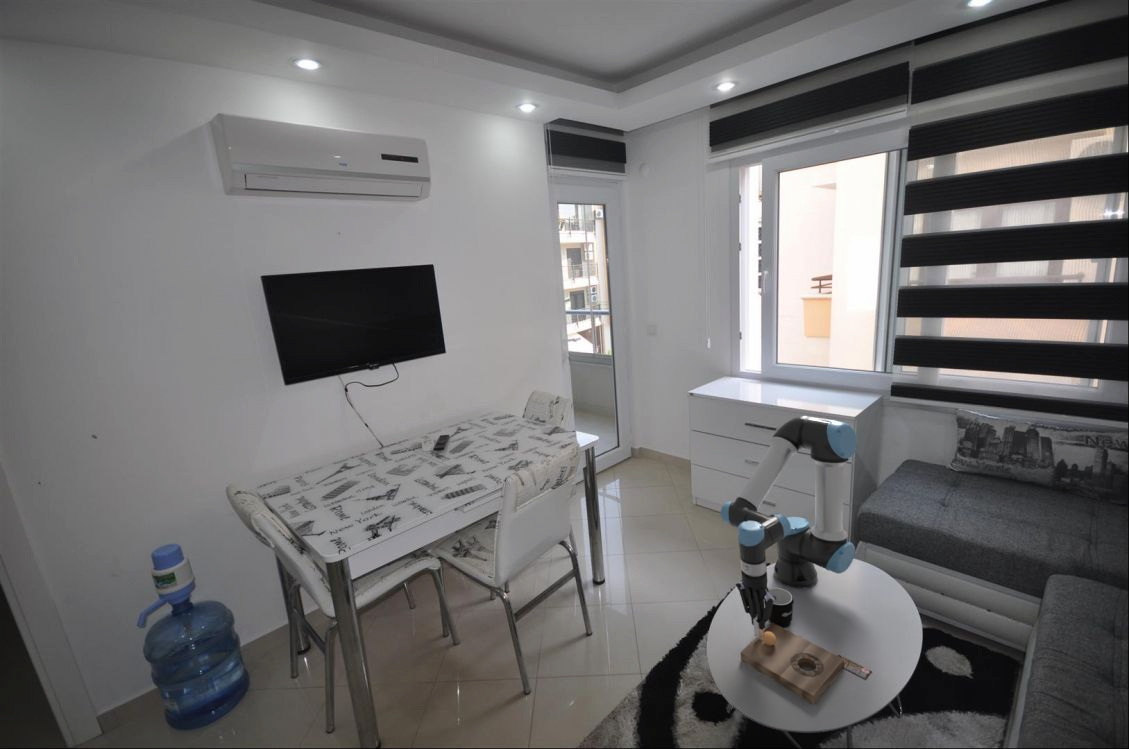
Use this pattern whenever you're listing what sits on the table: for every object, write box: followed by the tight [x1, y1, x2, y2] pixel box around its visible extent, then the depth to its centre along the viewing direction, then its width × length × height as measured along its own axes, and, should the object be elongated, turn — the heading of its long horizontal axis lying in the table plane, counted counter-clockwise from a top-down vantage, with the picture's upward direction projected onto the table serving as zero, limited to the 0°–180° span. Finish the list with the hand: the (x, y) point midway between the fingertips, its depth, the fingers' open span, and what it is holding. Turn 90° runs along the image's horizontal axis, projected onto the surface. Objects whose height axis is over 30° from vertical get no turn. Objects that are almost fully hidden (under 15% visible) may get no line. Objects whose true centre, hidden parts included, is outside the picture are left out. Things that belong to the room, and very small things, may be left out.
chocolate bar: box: [837, 654, 873, 681], centre depth 148 cm, size 11×5×1 cm, turn 38°
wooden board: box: [740, 623, 845, 706], centre depth 152 cm, size 23×18×3 cm
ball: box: [762, 631, 776, 646], centre depth 157 cm, size 4×4×4 cm
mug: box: [764, 587, 795, 629], centre depth 169 cm, size 12×9×10 cm
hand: (759, 635), depth 160 cm, fingers closed
